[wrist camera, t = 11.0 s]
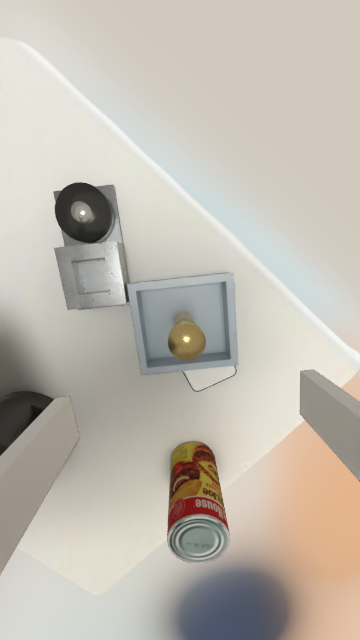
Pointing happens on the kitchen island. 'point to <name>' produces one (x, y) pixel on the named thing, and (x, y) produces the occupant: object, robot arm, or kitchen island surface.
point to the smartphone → (208, 376)
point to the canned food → (196, 506)
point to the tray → (208, 313)
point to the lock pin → (186, 337)
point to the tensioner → (91, 247)
